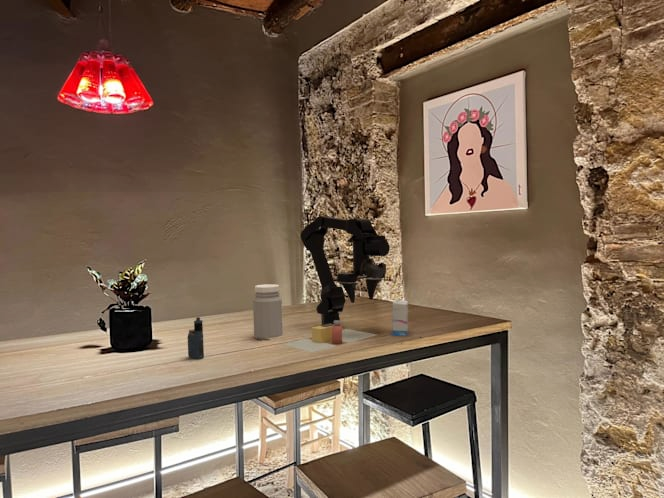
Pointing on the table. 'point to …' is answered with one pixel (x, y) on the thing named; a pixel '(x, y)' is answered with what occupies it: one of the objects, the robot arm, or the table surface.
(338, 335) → the small red bottle
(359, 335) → the subfloor panel
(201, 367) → the table surface
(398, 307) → the ink box
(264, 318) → the jar
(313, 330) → the block
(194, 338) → the vaping device
